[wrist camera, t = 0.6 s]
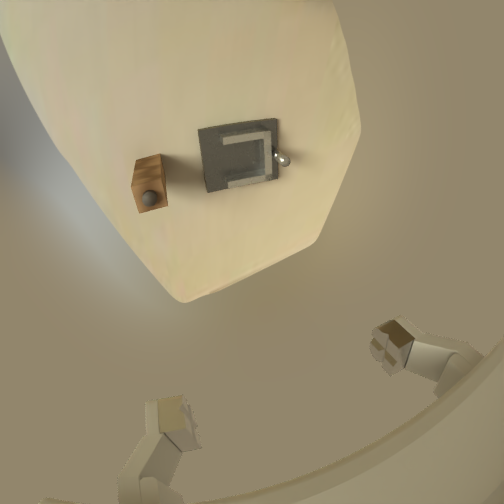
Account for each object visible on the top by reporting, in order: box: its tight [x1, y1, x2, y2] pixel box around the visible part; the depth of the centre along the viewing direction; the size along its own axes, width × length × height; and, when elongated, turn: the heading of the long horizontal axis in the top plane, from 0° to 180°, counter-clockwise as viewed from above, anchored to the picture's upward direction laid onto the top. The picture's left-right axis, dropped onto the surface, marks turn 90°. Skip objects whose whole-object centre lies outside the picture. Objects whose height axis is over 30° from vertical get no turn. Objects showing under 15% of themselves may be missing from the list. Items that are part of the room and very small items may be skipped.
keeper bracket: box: [198, 118, 290, 193], centre depth 52 cm, size 16×14×8 cm
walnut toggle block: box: [131, 154, 168, 213], centre depth 45 cm, size 5×5×14 cm
